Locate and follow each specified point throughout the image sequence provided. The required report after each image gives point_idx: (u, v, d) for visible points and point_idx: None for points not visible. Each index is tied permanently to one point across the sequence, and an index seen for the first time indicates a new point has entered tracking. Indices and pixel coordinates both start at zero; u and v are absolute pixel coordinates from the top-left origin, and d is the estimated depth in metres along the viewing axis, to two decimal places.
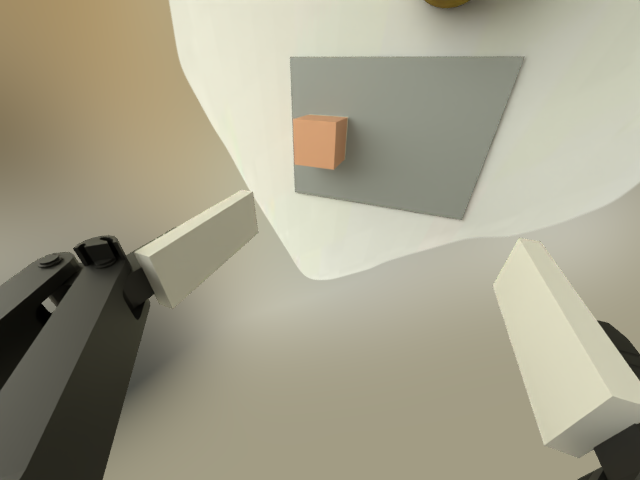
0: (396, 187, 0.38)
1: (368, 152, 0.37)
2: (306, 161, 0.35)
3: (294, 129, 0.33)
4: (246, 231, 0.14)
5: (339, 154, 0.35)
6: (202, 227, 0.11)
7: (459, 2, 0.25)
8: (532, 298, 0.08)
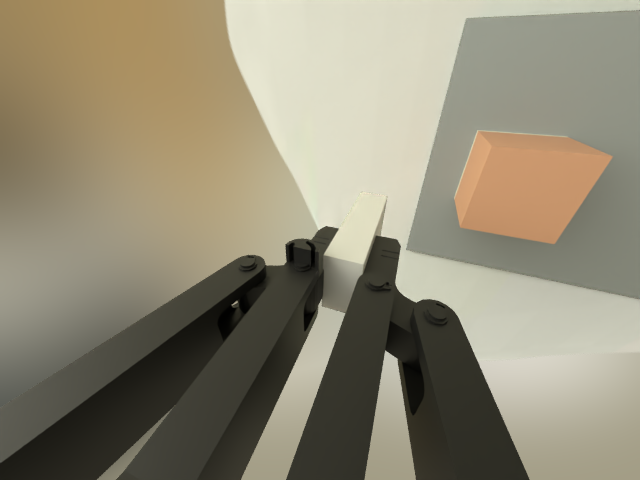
0: (625, 261, 0.21)
1: (587, 200, 0.20)
2: (491, 224, 0.18)
3: (487, 166, 0.16)
4: None
5: None
6: None
7: None
8: None
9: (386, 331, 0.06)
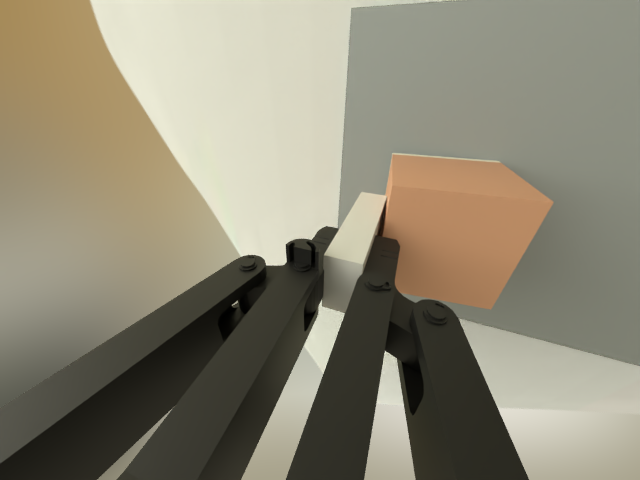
0: (579, 311, 0.17)
1: None
2: (410, 285, 0.13)
3: (391, 212, 0.11)
4: None
5: None
6: None
7: None
8: None
9: (386, 331, 0.06)
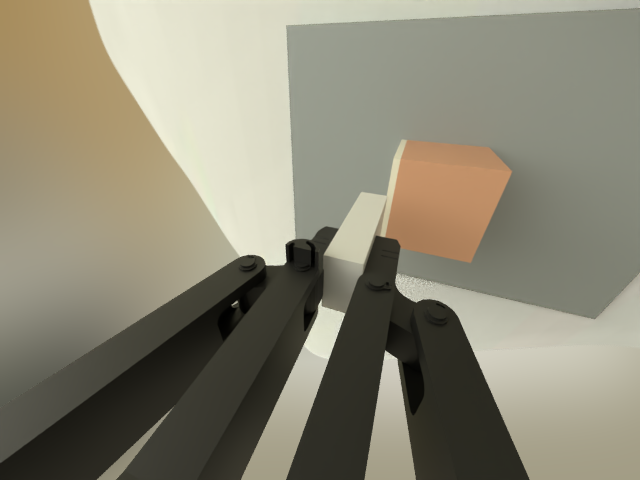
0: (474, 259, 0.22)
1: None
2: None
3: None
4: None
5: None
6: None
7: None
8: None
9: (386, 331, 0.06)
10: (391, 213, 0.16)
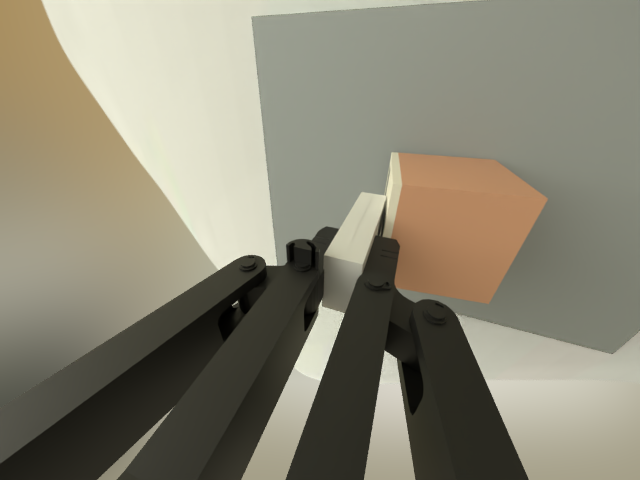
0: None
1: None
2: None
3: (530, 224, 0.11)
4: None
5: None
6: None
7: None
8: None
9: (386, 331, 0.06)
10: None
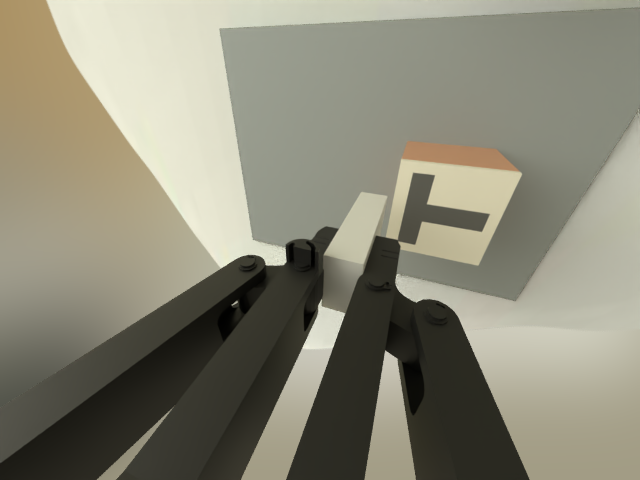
0: None
1: (359, 190, 0.22)
2: None
3: None
4: None
5: None
6: None
7: None
8: None
9: (386, 331, 0.06)
10: None
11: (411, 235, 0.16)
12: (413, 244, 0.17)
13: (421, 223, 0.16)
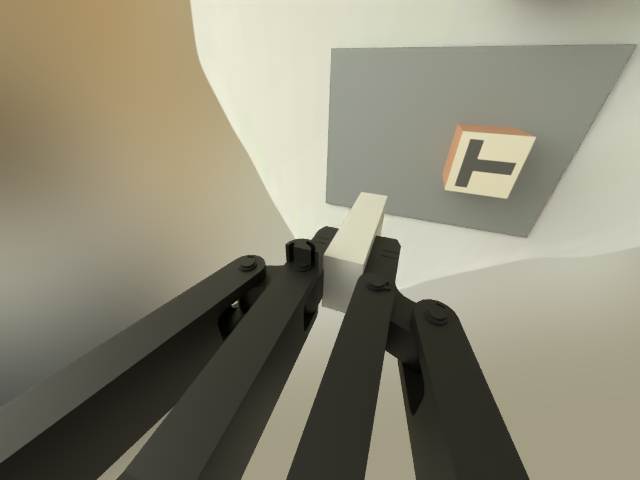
0: (449, 200, 0.33)
1: (418, 159, 0.32)
2: None
3: None
4: None
5: (446, 168, 0.29)
6: None
7: None
8: None
9: (386, 331, 0.06)
10: None
11: (464, 181, 0.26)
12: (465, 187, 0.26)
13: (472, 172, 0.25)
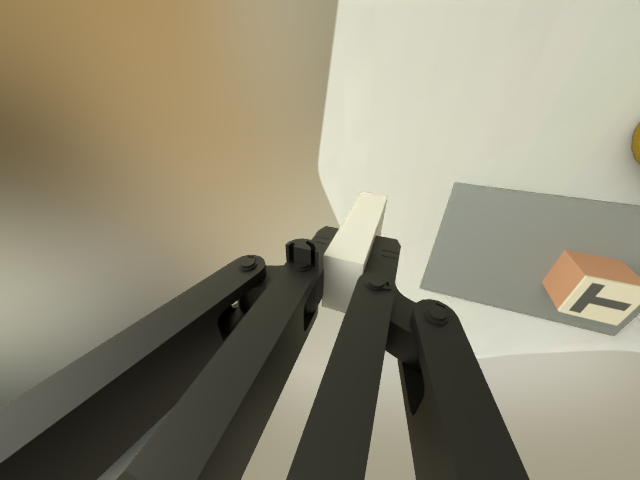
0: (544, 301, 0.38)
1: (521, 269, 0.37)
2: None
3: None
4: None
5: (553, 285, 0.34)
6: None
7: None
8: None
9: (386, 331, 0.06)
10: None
11: (579, 308, 0.31)
12: (579, 312, 0.31)
13: (588, 304, 0.30)
